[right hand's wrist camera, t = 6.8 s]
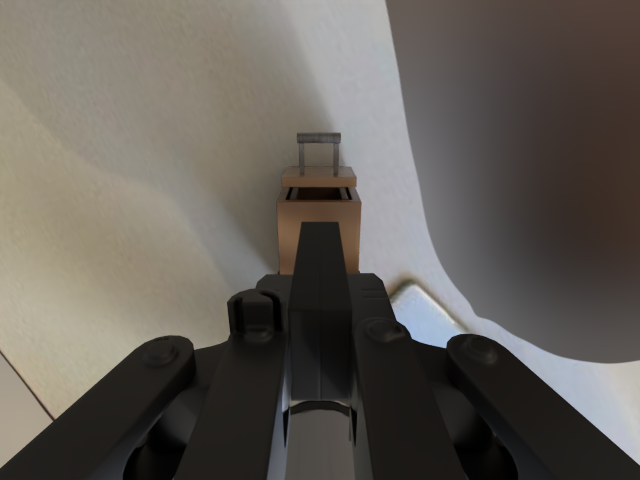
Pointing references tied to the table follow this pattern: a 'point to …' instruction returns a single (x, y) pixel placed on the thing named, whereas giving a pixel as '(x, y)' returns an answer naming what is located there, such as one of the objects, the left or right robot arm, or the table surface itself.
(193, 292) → the table surface
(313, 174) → the drawer
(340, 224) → the cabinet
